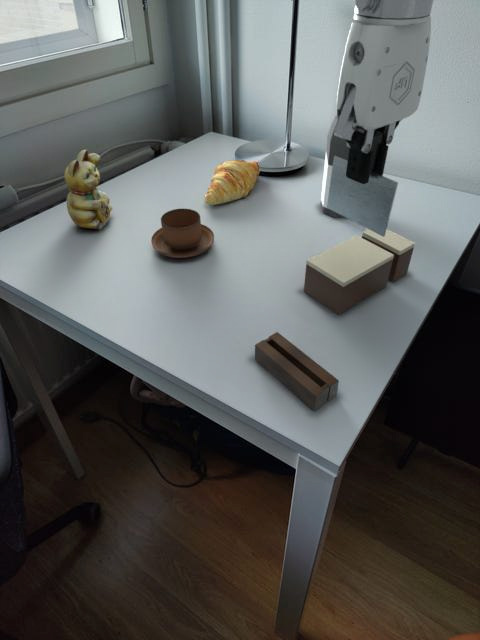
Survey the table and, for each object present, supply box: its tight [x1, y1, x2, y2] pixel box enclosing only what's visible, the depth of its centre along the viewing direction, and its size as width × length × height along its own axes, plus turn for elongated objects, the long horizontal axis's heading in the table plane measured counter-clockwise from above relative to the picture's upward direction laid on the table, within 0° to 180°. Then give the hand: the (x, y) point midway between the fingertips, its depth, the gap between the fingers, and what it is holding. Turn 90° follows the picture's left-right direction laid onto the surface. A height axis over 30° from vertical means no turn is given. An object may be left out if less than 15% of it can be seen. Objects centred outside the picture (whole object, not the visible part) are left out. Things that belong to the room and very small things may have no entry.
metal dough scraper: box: [327, 130, 399, 237], centre depth 59 cm, size 10×2×12 cm, turn 39°
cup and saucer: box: [150, 208, 215, 259], centre depth 88 cm, size 12×12×6 cm
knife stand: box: [254, 331, 340, 412], centre depth 63 cm, size 12×4×3 cm, turn 38°
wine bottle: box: [320, 115, 364, 219], centre depth 90 cm, size 8×8×30 cm
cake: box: [303, 234, 394, 316], centre depth 77 cm, size 8×12×6 cm, turn 128°
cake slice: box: [361, 228, 416, 283], centre depth 81 cm, size 8×4×6 cm, turn 38°
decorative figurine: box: [63, 149, 113, 231], centre depth 92 cm, size 10×8×15 cm
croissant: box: [204, 159, 261, 206], centre depth 105 cm, size 21×10×8 cm, turn 148°
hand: (364, 175), depth 58 cm, fingers closed on metal dough scraper, 2 cm apart
